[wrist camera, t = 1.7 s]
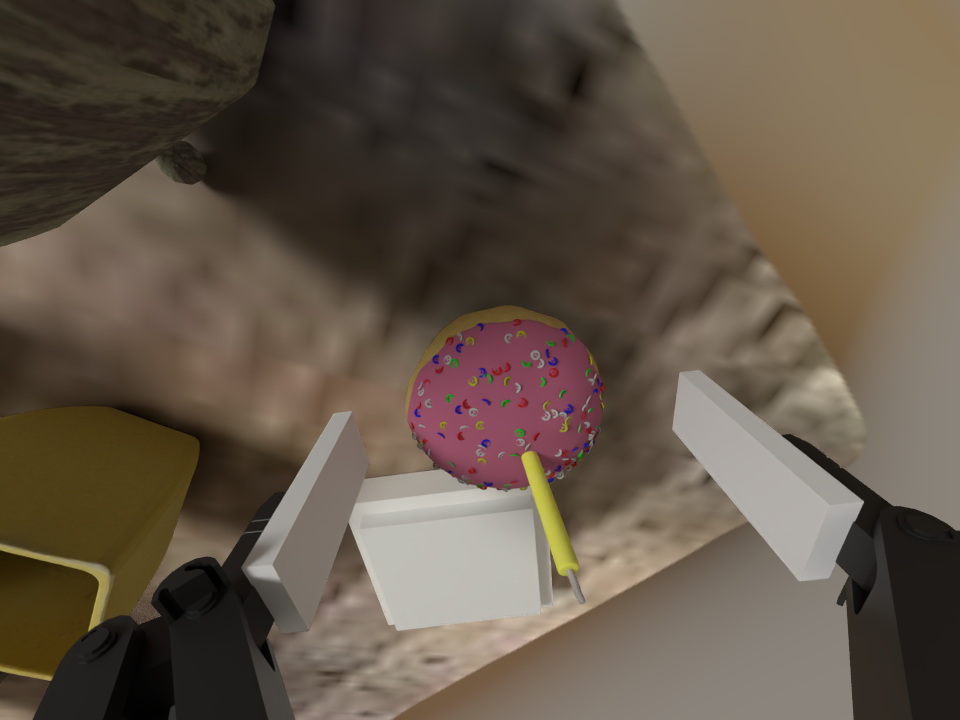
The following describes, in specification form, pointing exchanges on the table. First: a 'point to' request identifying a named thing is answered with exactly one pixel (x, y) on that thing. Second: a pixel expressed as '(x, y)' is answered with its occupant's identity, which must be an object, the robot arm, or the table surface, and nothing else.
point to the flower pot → (81, 523)
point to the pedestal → (451, 550)
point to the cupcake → (509, 408)
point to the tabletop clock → (112, 95)
